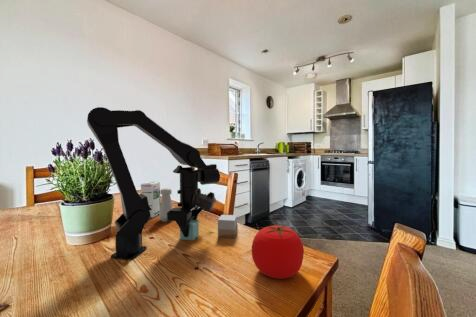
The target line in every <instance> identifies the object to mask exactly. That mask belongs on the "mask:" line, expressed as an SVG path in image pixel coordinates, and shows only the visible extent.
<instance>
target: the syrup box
mask: <svg viewBox="0 0 476 317" xmlns="http://www.w3.org/2000/svg"><path fill="white" fill-rule="evenodd" d="M160 183H161V182H160V181H148V182H144V183H141V184H140V194H141V193H142V194H144V195H145V196H147V199H148V204H149V207H150V208H151V209H152V210H149V211H150V218H155V217H157V216H159V215H158V214H159V211H160V205H161V193H160V191H161V184H160Z"/></svg>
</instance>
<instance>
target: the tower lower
mask: <svg viewBox="0 0 476 317" xmlns="http://www.w3.org/2000/svg"><path fill="white" fill-rule="evenodd" d="M238 226H239V224H238V223H237V226H236V228H235V230H227V229H218V228H217V237H218V238H225V239H235V238H236V237H237V234H238V232H239V231H238Z"/></svg>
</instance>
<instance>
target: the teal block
mask: <svg viewBox="0 0 476 317" xmlns="http://www.w3.org/2000/svg"><path fill="white" fill-rule="evenodd" d="M199 222H200V221H199V219H197V220H191V221H190V227H189V234H188V237H184V235H183V233H182V231H181V230H180V229H179V239H180V240H185V241H195V239H196V238H197V237H198V236H199V235H200V230H199V227H200V226H199V225H200V223H199Z"/></svg>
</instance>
